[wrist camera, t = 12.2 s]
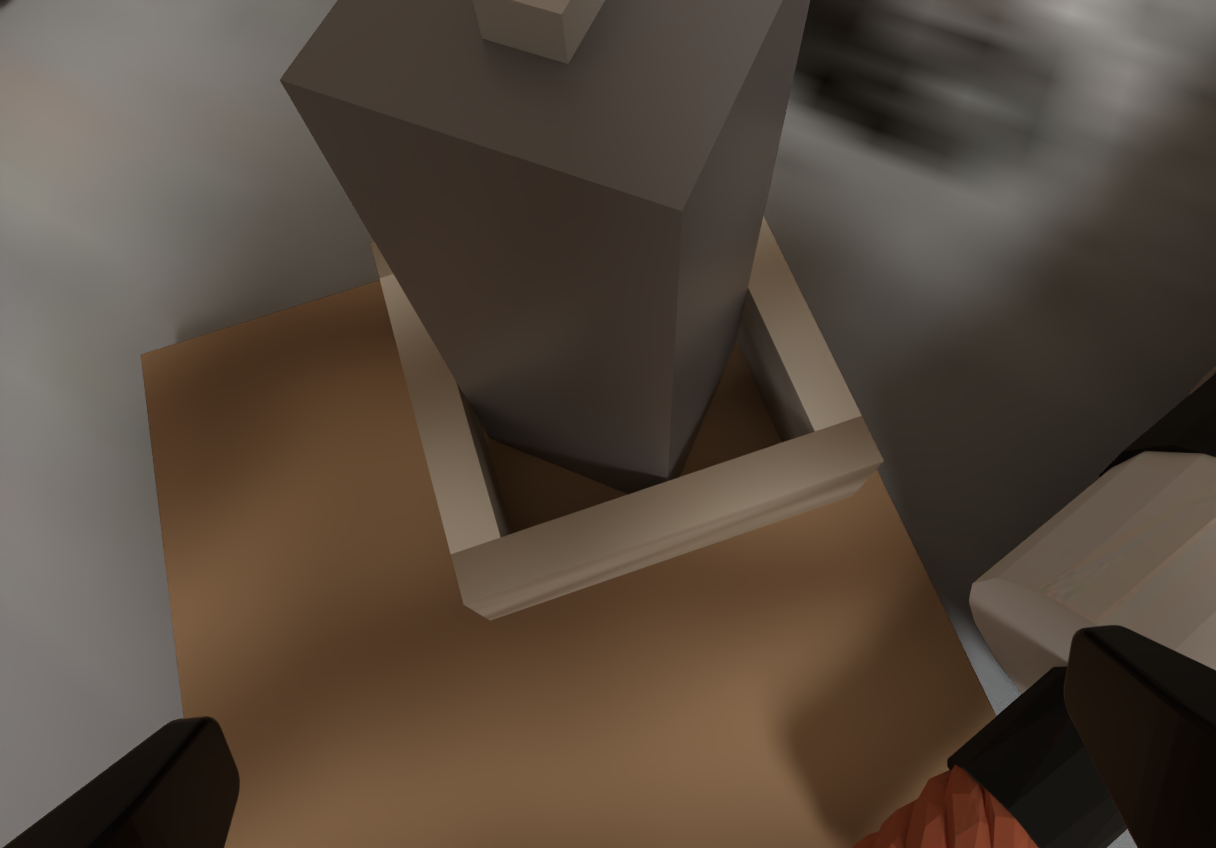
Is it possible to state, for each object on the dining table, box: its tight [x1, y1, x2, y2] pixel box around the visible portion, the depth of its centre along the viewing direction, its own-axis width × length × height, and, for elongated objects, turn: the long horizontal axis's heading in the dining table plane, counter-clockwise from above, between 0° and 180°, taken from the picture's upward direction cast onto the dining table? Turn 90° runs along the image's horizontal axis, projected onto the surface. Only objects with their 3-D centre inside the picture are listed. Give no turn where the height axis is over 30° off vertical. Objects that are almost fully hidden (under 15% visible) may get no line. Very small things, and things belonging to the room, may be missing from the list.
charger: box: [280, 0, 810, 494], centre depth 13 cm, size 4×4×12 cm
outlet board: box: [141, 216, 996, 848], centre depth 16 cm, size 20×16×4 cm
